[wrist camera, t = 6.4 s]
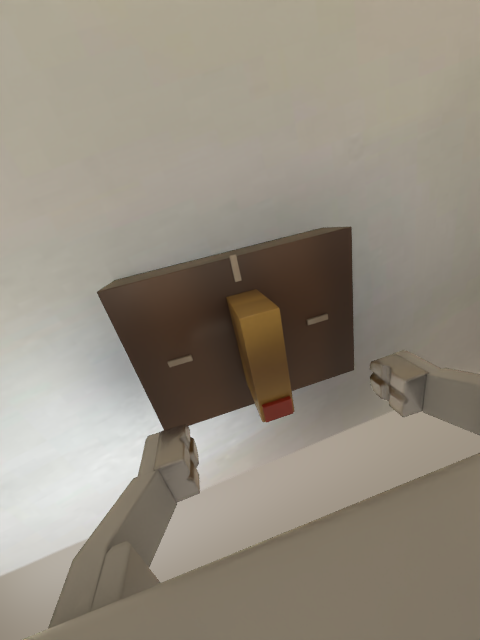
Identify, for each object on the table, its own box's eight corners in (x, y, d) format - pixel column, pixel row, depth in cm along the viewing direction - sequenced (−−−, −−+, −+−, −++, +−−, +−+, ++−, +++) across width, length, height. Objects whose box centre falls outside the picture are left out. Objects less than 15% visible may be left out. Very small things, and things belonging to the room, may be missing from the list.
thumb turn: (225, 296, 13) (240, 320, 9) (256, 288, 13) (281, 309, 9) (246, 382, 15) (264, 426, 12) (272, 374, 15) (297, 415, 12)
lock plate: (322, 225, 15) (353, 224, 13) (330, 351, 19) (356, 372, 17) (113, 278, 14) (94, 290, 11) (169, 403, 18) (166, 437, 15)
